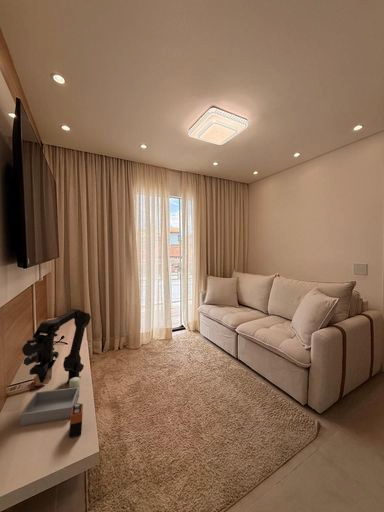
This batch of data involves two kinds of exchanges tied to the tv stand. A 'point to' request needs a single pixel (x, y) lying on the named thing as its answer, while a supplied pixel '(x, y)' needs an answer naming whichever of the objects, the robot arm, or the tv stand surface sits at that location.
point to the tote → (49, 406)
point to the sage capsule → (74, 382)
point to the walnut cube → (47, 378)
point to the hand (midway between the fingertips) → (44, 379)
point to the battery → (76, 420)
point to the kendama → (35, 380)
